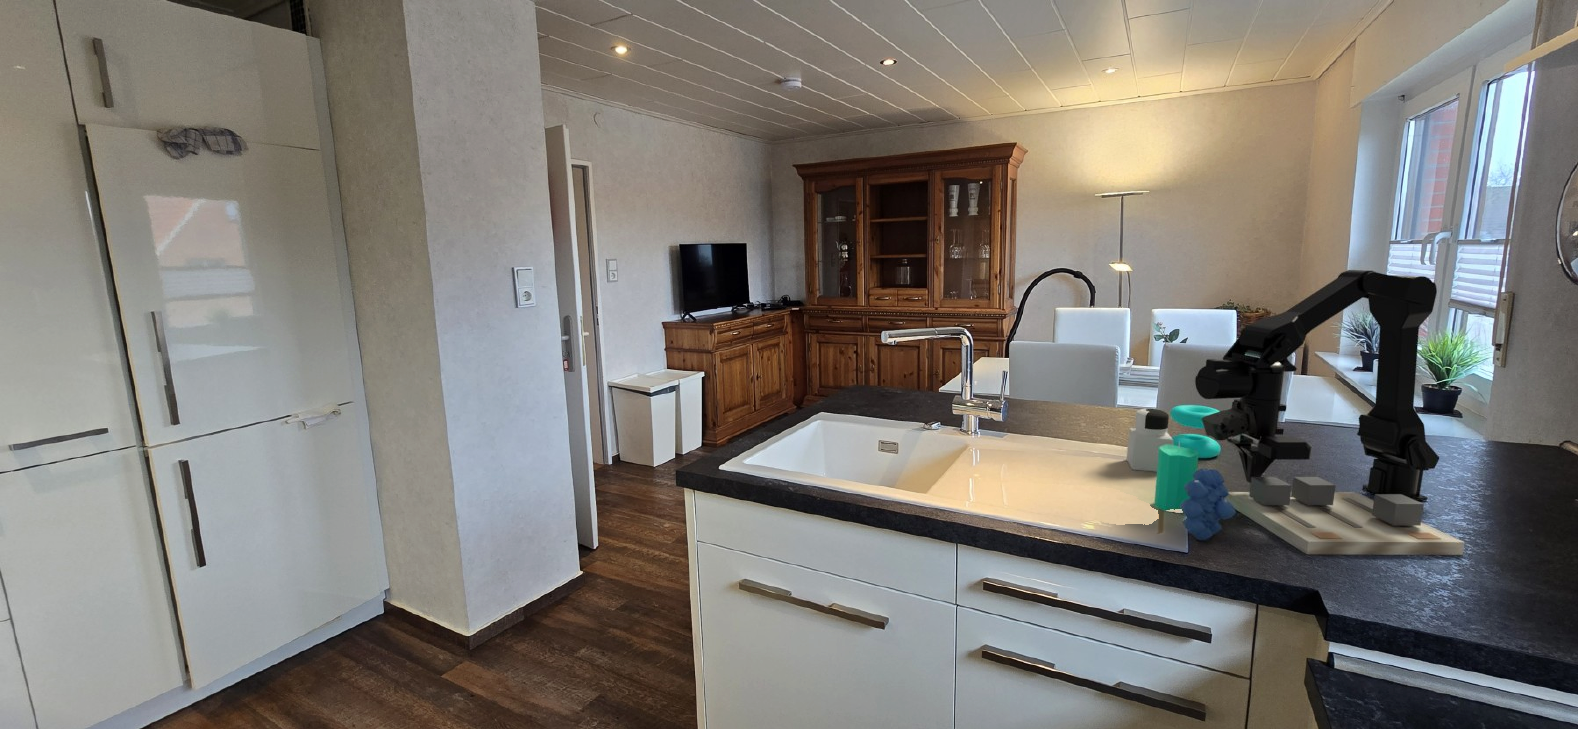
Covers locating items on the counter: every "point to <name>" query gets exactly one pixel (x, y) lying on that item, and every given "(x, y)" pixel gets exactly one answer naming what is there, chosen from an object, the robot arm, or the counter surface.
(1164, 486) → the candle
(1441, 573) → the counter surface
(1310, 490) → the tab middle
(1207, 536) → the grapes
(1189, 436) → the donuts
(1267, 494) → the tab far
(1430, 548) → the switch panel
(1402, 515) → the grey boxy piece
